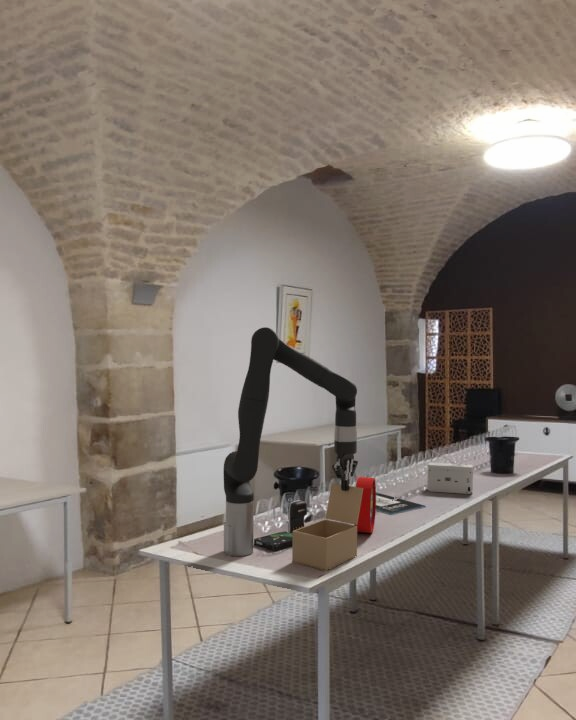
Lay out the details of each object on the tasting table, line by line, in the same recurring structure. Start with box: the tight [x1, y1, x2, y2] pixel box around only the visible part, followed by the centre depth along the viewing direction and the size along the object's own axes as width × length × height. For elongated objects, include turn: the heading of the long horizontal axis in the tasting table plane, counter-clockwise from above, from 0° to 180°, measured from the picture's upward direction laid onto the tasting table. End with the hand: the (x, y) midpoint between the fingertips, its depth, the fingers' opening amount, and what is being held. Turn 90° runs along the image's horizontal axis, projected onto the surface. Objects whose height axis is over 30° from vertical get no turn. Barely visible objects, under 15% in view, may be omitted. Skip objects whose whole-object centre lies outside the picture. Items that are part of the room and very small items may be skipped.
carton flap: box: [325, 482, 363, 525], centre depth 224 cm, size 12×12×1 cm
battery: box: [287, 499, 308, 534], centre depth 245 cm, size 7×4×11 cm, turn 134°
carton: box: [291, 518, 358, 572], centre depth 215 cm, size 18×13×10 cm
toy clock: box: [353, 476, 377, 534], centre depth 247 cm, size 20×6×20 cm, turn 167°
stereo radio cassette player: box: [427, 449, 474, 495], centre depth 315 cm, size 21×8×20 cm, turn 75°
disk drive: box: [253, 530, 293, 553], centre depth 231 cm, size 10×3×15 cm
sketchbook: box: [376, 491, 427, 515], centre depth 290 cm, size 22×30×2 cm
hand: (345, 490), depth 224 cm, fingers closed
